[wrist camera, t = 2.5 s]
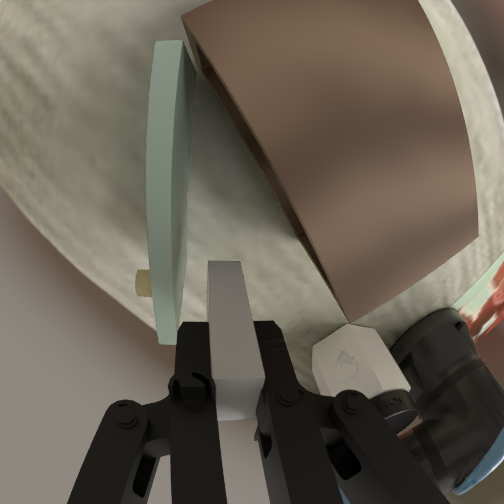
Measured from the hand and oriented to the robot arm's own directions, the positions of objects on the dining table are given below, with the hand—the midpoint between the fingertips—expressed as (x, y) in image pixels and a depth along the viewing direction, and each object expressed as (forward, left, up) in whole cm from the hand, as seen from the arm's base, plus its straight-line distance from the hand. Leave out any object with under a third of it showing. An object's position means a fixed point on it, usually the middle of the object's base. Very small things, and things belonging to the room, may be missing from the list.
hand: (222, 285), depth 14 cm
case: (+3, -10, -9) cm, 13 cm away
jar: (-21, -4, -9) cm, 23 cm away
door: (+5, +1, -8) cm, 10 cm away
